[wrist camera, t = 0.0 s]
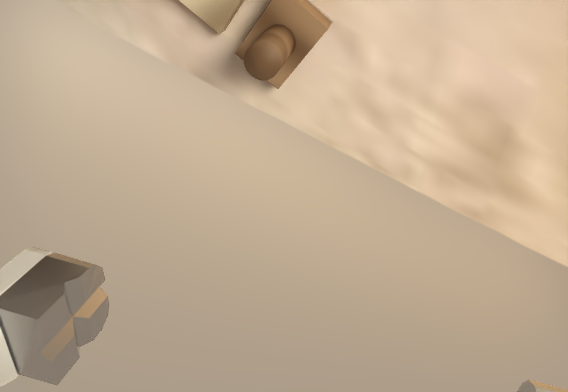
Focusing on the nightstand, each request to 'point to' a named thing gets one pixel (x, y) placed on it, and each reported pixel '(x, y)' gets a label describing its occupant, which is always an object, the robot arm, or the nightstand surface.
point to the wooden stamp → (282, 39)
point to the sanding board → (214, 11)
